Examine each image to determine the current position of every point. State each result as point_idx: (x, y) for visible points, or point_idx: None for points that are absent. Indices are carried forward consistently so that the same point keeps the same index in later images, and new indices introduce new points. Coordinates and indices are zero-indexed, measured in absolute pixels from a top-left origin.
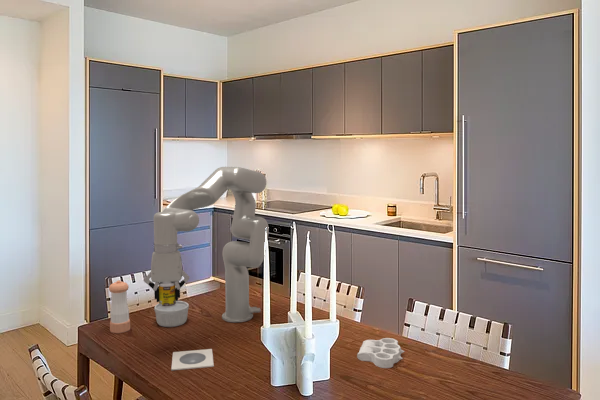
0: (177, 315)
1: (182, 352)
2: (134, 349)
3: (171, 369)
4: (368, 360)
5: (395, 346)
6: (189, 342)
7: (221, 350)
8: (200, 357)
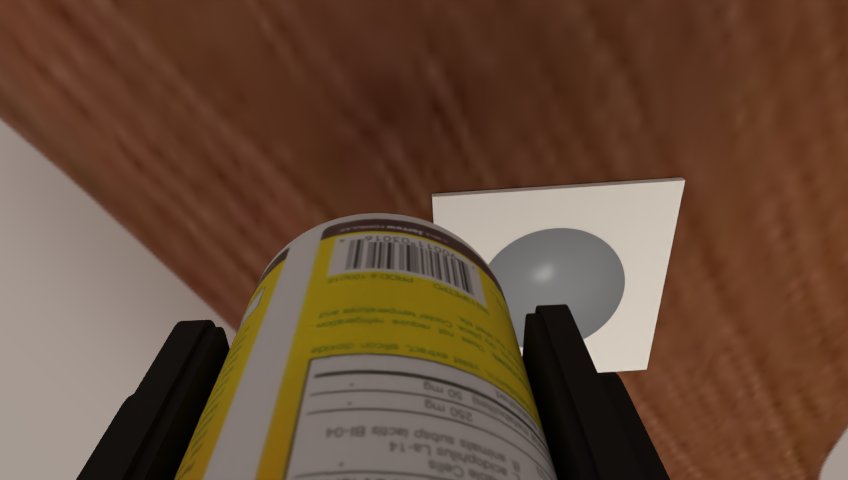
0: None
1: (493, 209)
2: (144, 91)
3: None
4: None
5: None
6: (544, 12)
7: (737, 190)
8: (595, 288)
